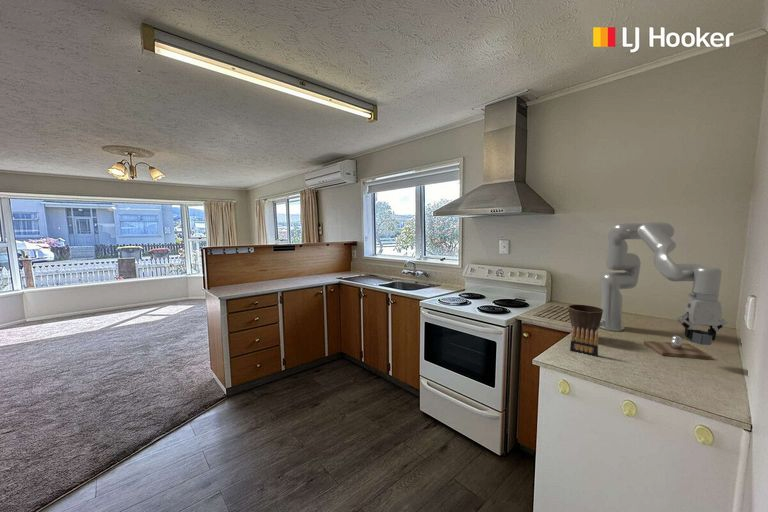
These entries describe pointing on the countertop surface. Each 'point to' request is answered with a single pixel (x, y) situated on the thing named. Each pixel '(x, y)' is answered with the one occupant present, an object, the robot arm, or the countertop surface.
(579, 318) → the plant pot
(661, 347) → the base plate
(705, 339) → the steel ring
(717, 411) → the countertop surface
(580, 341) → the ammunition clip
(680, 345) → the silver egg
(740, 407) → the countertop surface
